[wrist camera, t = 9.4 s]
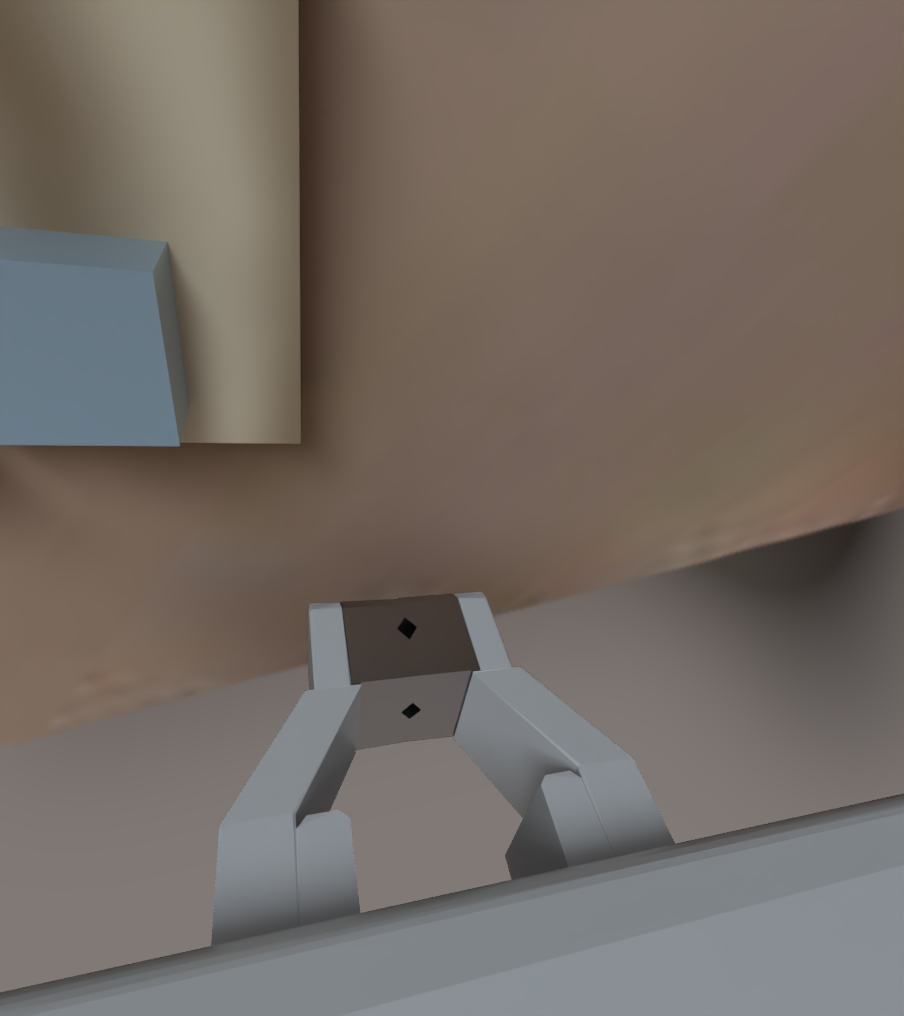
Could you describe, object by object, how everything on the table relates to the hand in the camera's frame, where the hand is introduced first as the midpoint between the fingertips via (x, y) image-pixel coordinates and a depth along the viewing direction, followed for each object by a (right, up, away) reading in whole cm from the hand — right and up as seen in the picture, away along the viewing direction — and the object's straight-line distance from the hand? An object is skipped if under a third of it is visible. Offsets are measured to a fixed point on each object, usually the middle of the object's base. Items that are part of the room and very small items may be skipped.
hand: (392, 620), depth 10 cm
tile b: (-9, +7, +7) cm, 14 cm away
